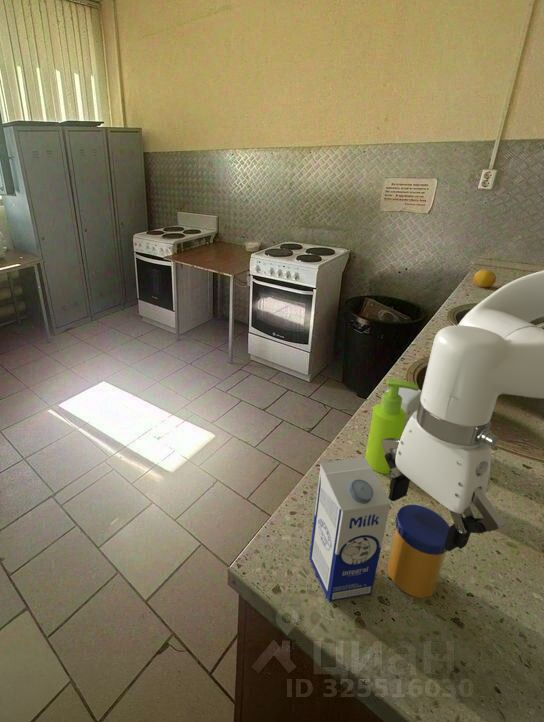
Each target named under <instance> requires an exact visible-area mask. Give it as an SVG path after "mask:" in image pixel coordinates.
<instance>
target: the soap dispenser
mask: <svg viewBox="0 0 544 722" xmlns="http://www.w3.org/2000/svg"><path fill="white" fill-rule="evenodd" d="M386 386H387V387H388V389H389V392H386V391H384V392H383V393H382V395H383V398H382V397H381V401H382V403H381V402H379V403H376V404H375V405H374V406H373V408H372V415H371V420H370V427H369V432H368V438H367V444H366V451H365V456H364V457H365V459H366V460H367V462H368V463H369V465H370V467H371V468H372V469H373V471H374V472H375V473H376V472H377V473H379V474H386V475H387V474H388V475H389V470H390V468H389V466H388V463H387V461H386V459H385V452H384V450H383V446H382V443H381V440H383V439H386V438H399V439H401V436H402V433H403V430H404V425H405V421H406V413H405V411H404V410H403V409H401V403H402V397H401V396H400V395H399V394H398V392H399V388H407V389H412V390H415V391H417V390H420V388H419V386H418V384H417V383H414V382H412V381H408V380H404V379H395V378H386ZM396 452H397V449H396Z"/></svg>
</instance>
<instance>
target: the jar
mask: <svg viewBox="0 0 544 722" xmlns="http://www.w3.org/2000/svg"><path fill="white" fill-rule="evenodd" d="M447 553H448V551H446V552H445V553H443V554H438V555H432V554H427V553H423V552H421V551H419V550H417V549H414V548H413V547H412V546H410V545H409V544H408V543H407V542H405V541H404V540H403V539H402V537H401V536H400V534H399V533H398V531H397V528H396V527H395V529H394V534H393V537H392V542H391V546H390V550H389V556H388V560H387V564H386V565H387V567H386V568H387V569H386V570H387V573H388V576H389V577H390V579H391V581H392V583H394V584H395V585H396V586H397V588H399V589H400V591H402V592H404V593H406V594H408V595H410V596H413V597H415V598H421V599H423V598H429V597H431V596H432V595H433V594H434V593H435V592H436V588H437V586H438V582H439V579H440V575H441V572H442V569H443V566H444V562H445V558H446V555H447Z"/></svg>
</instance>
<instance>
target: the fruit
mask: <svg viewBox="0 0 544 722" xmlns="http://www.w3.org/2000/svg"><path fill="white" fill-rule="evenodd" d="M472 278H473V279H472V280H473V283H474V285H475V286H477V287H480V288H490V287H492V286H493V285H494V284H495V283H496V281H497V280H496V279H497V276H496V273H495V272H493V271H491V270H489V269H481V270H478V271H476V273H474V275H473V277H472Z"/></svg>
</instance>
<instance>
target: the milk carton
mask: <svg viewBox="0 0 544 722" xmlns="http://www.w3.org/2000/svg"><path fill="white" fill-rule="evenodd" d="M319 465H320V466H319V475H318V484H317V491H316V498H315V499H316V500H315V502H316V503H315V507H314V516H313V517H314V518H313V525H312V534H311V540H310V541H311V543H310V549H309V561H310V564H311V566H312V567H313V570H314V572H315V574H316V576H317V578H318V581H319V583H320V585H321V587H322V589H323V592H324V594H325V596H326V598H327V600H328V602H334V601H340V600H344V599H345V600H346V599H350V598H356V597H361V596H367V595H372V593H373V588H374V583H375V579H376V574H377V569H378V564H379V559H380V555H381V549H382V546H383V540H384V535H385V532H386V527H387V526H386V525H387V522H388V517H389V512H390V508H391V504H392V501H391V500H390V499H389V498H388V497H389V495H388V494H387V492H386V491H385V489H384V486H383V485H382V484H381V482H380V480H379V478H378V476H377V474H376V472H375V471H374V470H373V469H372V468H371V467H370V465H369V463H368V462H367V460H366V459H365V456H359V457H353V458H345V459H338V460H332V461H324V462H323V461H322V462H320V463H319Z"/></svg>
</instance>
